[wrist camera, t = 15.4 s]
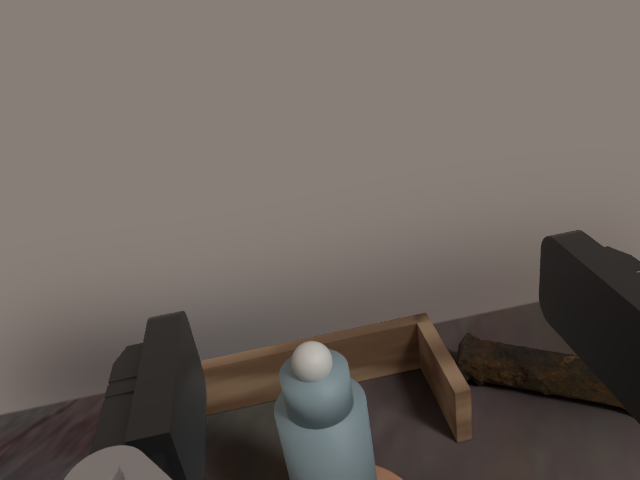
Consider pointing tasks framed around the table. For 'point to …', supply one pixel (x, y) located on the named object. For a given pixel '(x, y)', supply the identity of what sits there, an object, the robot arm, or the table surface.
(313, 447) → the pepper mill
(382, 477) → the trivet
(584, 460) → the table surface
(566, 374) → the brown piece
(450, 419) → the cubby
